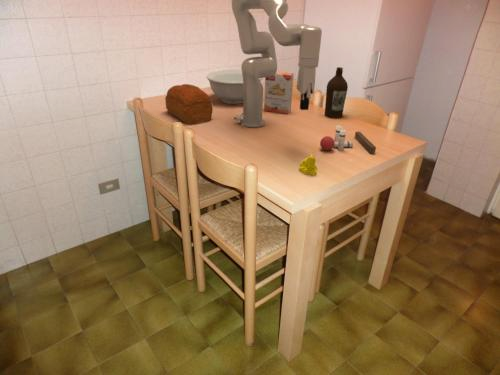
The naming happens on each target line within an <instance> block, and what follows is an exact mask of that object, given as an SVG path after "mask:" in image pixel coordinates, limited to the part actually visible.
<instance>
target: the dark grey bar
mask: <svg viewBox="0 0 500 375" xmlns="http://www.w3.org/2000/svg"><path fill="white" fill-rule="evenodd" d="M354 139H355V140H356V141H357V142H358V144H360V145H361V146H362V147H363V148H364V150H366V151H367V153H368V154H370V155H372V154H373V155H375V154H376V149H377V147H376V145H375V144H374V143H372V142H371V141H370V140H369V139H368V138H367V137H366V136H365V135H364V134H363V133H362V132H361V131H355V133H354Z"/></svg>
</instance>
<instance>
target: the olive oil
mask: <svg viewBox="0 0 500 375" xmlns="http://www.w3.org/2000/svg"><path fill="white" fill-rule="evenodd" d="M343 72H344V67H341V66H340V67H339V66H338V67H336V70H335V75H334V76H333V77H332V78H331V79H330V80H329V81H328V83H327V85H326V90H325V93H326V94H325V104H324V106H325V107H324V117H325V118H329V119H341V118H342V117H343V114H344V109H345V103H346V102H345V101H346V98H347V93H348V88H349V86H348V82H347V80H346V79H345V78H344V76H343Z"/></svg>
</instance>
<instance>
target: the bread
mask: <svg viewBox="0 0 500 375" xmlns="http://www.w3.org/2000/svg"><path fill="white" fill-rule="evenodd" d="M164 101H165V108H166V110H167V112H168V113H169V114H171V115H172V116H174V117H177V118H178V119H180V120H181V121H183V122H185V123H187V124H188V125H196V124H197V125H198V124H203V123H207V122H210V121H211V120H212V117H213V103H212V102H211V98H210V96H209V95H208V93H206V92H205V91H204V90H202V89H201V88H200V87H199V86H196V85H194V84H187V83H185V84H178V85H173V86H171V87H170V88H168V90H167V92H166V96H165V98H164Z"/></svg>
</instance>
